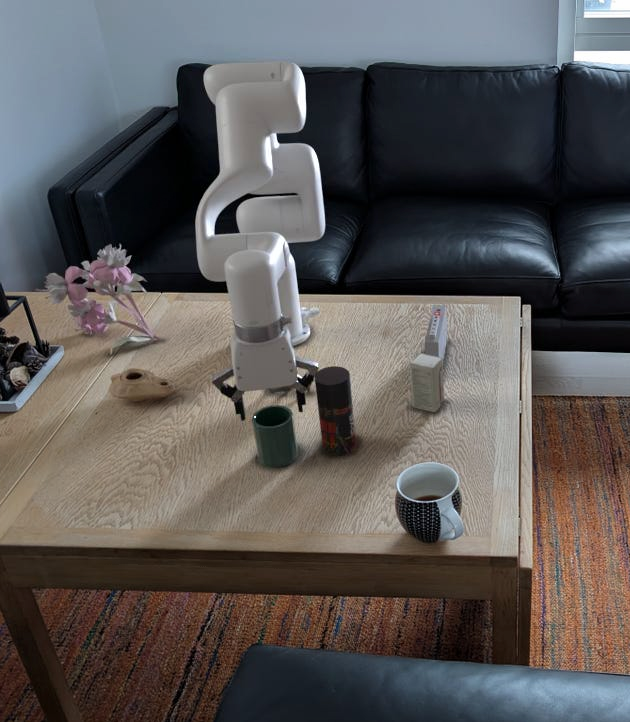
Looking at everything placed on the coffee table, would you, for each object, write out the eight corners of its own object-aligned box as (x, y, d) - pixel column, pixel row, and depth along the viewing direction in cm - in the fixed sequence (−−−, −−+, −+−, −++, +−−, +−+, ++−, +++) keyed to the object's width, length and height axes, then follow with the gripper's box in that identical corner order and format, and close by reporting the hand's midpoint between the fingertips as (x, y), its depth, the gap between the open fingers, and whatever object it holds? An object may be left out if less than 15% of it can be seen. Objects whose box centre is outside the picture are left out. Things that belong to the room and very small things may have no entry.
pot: (281, 439, 151) (276, 400, 147) (305, 454, 147) (300, 415, 143) (250, 456, 147) (243, 417, 142) (274, 472, 143) (268, 433, 138)
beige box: (445, 401, 162) (444, 357, 156) (434, 413, 158) (433, 368, 153) (421, 395, 163) (420, 351, 158) (410, 407, 160) (408, 362, 155)
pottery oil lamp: (166, 411, 157) (140, 388, 153) (122, 416, 163) (96, 394, 158) (185, 375, 163) (161, 352, 158) (143, 380, 168) (118, 359, 164)
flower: (171, 297, 195) (98, 213, 180) (195, 329, 177) (116, 238, 163) (99, 350, 191) (18, 269, 176) (116, 388, 173) (27, 301, 158)
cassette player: (434, 341, 181) (433, 300, 176) (446, 342, 181) (446, 301, 176) (425, 380, 168) (424, 337, 163) (439, 380, 168) (438, 337, 163)
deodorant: (324, 436, 152) (315, 366, 144) (356, 434, 152) (350, 365, 144) (321, 456, 147) (313, 385, 139) (355, 454, 147) (348, 384, 139)
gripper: (310, 308, 138) (320, 392, 148) (202, 321, 134) (219, 407, 144) (315, 330, 132) (325, 417, 142) (202, 344, 128) (220, 432, 138)
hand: (271, 412), depth 143 cm, fingers open, 9 cm apart
